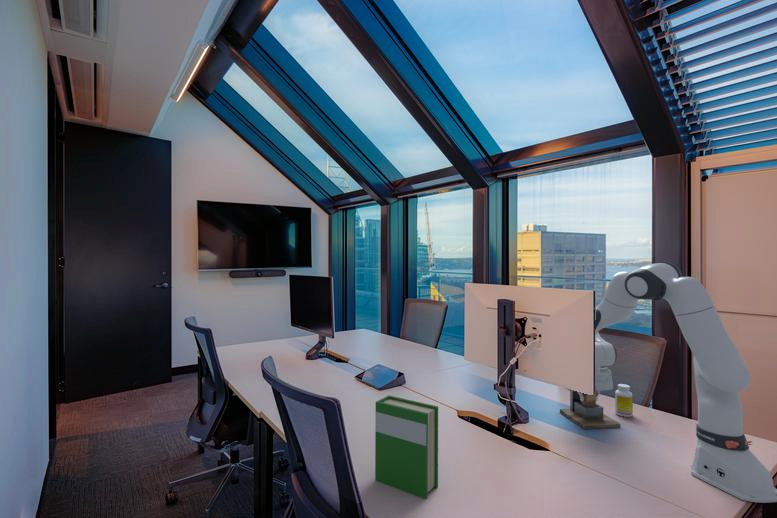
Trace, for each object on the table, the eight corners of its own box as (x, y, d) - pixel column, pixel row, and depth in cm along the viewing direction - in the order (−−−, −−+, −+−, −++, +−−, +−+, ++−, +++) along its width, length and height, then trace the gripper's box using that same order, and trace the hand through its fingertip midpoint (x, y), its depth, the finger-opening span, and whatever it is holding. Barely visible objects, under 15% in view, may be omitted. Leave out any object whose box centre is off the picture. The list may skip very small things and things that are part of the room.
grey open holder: (603, 419, 168) (603, 385, 168) (585, 420, 167) (585, 386, 167) (587, 409, 180) (587, 378, 180) (570, 410, 179) (570, 378, 179)
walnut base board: (620, 427, 163) (620, 423, 163) (583, 429, 162) (583, 425, 162) (593, 411, 181) (593, 407, 181) (559, 412, 180) (559, 409, 180)
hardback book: (437, 487, 119) (438, 406, 120) (426, 499, 113) (426, 414, 113) (388, 470, 129) (388, 395, 129) (375, 480, 123) (375, 401, 123)
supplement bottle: (635, 418, 174) (635, 388, 174) (618, 416, 175) (618, 387, 175) (629, 412, 180) (629, 383, 180) (613, 411, 181) (612, 382, 182)
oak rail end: (595, 414, 170) (595, 385, 170) (586, 414, 169) (586, 385, 170) (590, 410, 174) (590, 383, 174) (581, 411, 173) (581, 383, 174)
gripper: (606, 365, 176) (606, 397, 176) (562, 366, 174) (562, 398, 174) (616, 369, 170) (616, 402, 170) (570, 370, 168) (570, 403, 167)
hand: (588, 400), depth 172 cm, fingers closed on oak rail end, 4 cm apart
